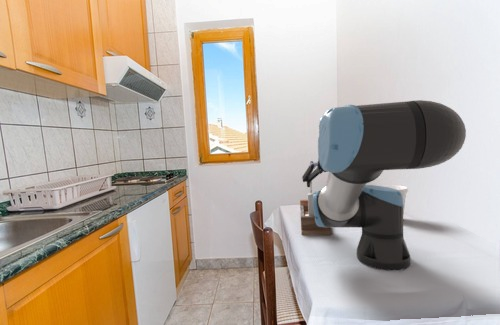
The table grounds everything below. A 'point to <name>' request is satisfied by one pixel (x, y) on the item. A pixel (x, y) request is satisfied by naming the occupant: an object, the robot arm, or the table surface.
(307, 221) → the track
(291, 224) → the table surface
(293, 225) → the table surface
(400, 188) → the cup
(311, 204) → the block
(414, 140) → the robot arm
